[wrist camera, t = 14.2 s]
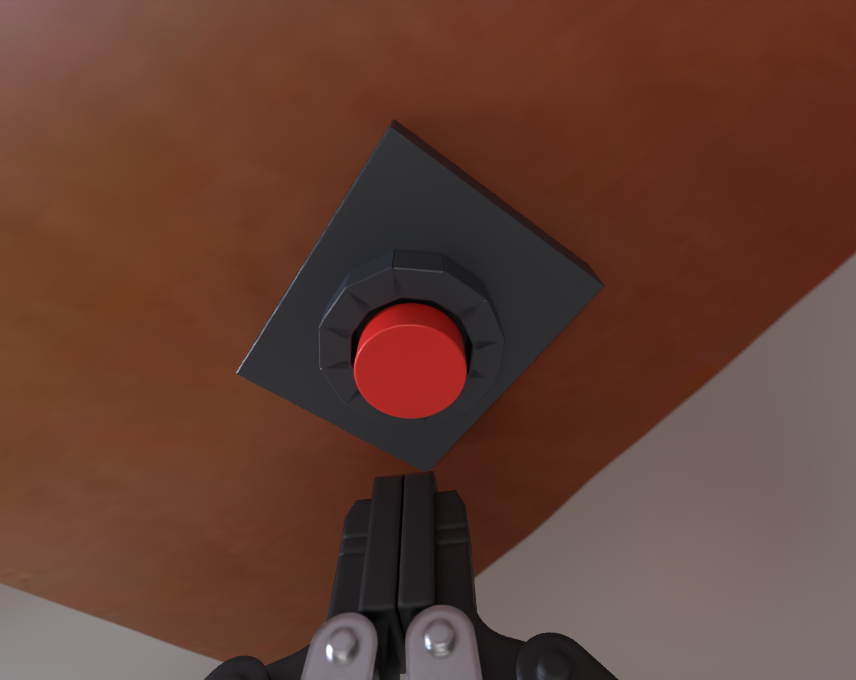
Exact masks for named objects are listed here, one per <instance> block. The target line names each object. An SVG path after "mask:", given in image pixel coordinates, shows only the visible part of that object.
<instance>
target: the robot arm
mask: <svg viewBox="0 0 856 680" xmlns="http://www.w3.org/2000/svg"><path fill="white" fill-rule="evenodd" d="M339 552H340V555H339V556H338V562H337V568H336V573H335V579H334V584H333V590H332V596H331V601H330V607H329V612H328V616H327V620H326V622H325V623H324V624H323V625H322V626H321V627H320V628H319V629H318V630H317V632H316V633H315V635H314V637H313V639H312V641H311V643H310V644H309V645H307V646H306V647H305V648H303V649H302V650H300V651H298V652H296V653H294V654H292V655H290V656H288V657H285V658H283V659H281V660H278V661H276V662H274V663H271V664H269V665H267V666H264V664H263V663H262V662H261V661H260V660H259V659H257V658H255V657H252V656H239V657H235V658H232V659H229V660H227V661H226V662H224V663H222V664H221V665H219V666H218V667H217V668H216V669H214V670H213V671H212V672H211V673H210V674H209V675H208V676H207V677H206V678H205V679H204V680H400V674H405V673H406V678H407V680H618V679H617V678H616V677H615V676H614V675H613V674H612V673H610V672H609V671H608V670H607V669H606V668H605V667H604V666H603V665H602V664H600V663H599V662H598V661H597V660H596V659H595V658H594V657H593V656H592V655H590V654H589V653H588V652H587V651H586V650H585V649H584V648H583V647H582V646H580V645H579V644H578V643H577V642H575V641H574V640H573V639H571V638H569V637H567V636H565V635H562V634H558V633H541V634H538V635H536V636H534V637H532V638H530V639H529V640H528V641H527V642H525V641H521V640H517V639H513V638H509V637H506V636H503V635H501V634H498V633H497V632H494V631H493V630H491V629H490V628H489V627H487V625H486V624H485V623H484V622H483V621H482V620H481V618H480V617H479V615H478V613H477V606H476V595H475V584H474V573H473V562H472V551H471V542H470V535H469V528H468V520H467V513H466V506H465V504H464V503H463V501H462V499H461V498H460V496H459V495H458V493H457V492H456V490H453V491H443V492H438V491H437V485H436V479H435V474H434V471H430V472H420V473H410V474H405V475H404V474H402V475H392V476H382V477H376V478H375V480H374V487H373V495H372V499H365V500H356V502H355V503H354V505H353V506H352V508H351V510H350V511H349V513H348V514H347V516H346V517H345V523H344V528H343V534H342V540H341V545H340V551H339Z"/></svg>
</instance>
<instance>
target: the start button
mask: <svg viewBox="0 0 856 680" xmlns="http://www.w3.org/2000/svg"><path fill="white" fill-rule="evenodd" d="M354 377H355V381H356V384H357V387H358V389H359V391H360V392H361V394H362V395H363V397H364V398H365V399H366V400H367V401H368V402H369V403H370V404H371V405H372V406H374V407H375V408H376V409H378V410H380V411H382V412H384V413H386V414H388V415H391V416H395V417H399V418H411V419H414V418H422V417H427V416H431V415H434V414H436V413H438V412H440V411H442V410H444V409H445V408H447V407H448V406H449V405H451V404H452V403H453V402H454V401H455V400H456V398H457V397H458V396H459V395H460V393H461V391H462V389H463V387H464V385H465V381H466V377H467V365H466V358H465V351H464V344H463V339H462V336H461V333H460V331H459V329H458V327H457V326H456V324H455V323H454V322H453V321H452V320H451V319H450V318H449V317H448V316H447V315H446V314H444V313H443V312H441V311H439V310H438V309H436V308H433V307H431V306H427V305H424V304H418V303H404V304H398V305H394V306H391V307H388V308H386V309H384V310H382V311H380V312H379V313H378V314H376V315H375V316H374V317H373V318H372V319H371V320H370V321H369V322H368V323H367V324H366V326H365V328H364V329H363V331H362V334H361V337H360V340H359V345H358V349H357V354H356V358H355V363H354Z"/></svg>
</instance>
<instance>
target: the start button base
mask: <svg viewBox="0 0 856 680" xmlns="http://www.w3.org/2000/svg"><path fill="white" fill-rule="evenodd" d="M603 287H604V284H603V283H602V281H601V280H600V279H599V278H598V276H597V275H596V274H595V273H594V271H593V270H592V269H591V268H590V266H589V265H588V264H586V263H585V262H584V261H582V260H581V259H580V258H578V257H577V256H576V255H574V254H573V253H572V252H570V251H569V250H568V249H566V248H565V247H564V246H562V245H561V244H560V243H558V242H557V241H556V240H554V239H553V238H552V237H550V236H549V235H548V234H546V233H545V232H544V231H542V230H541V229H540V228H538V227H537V226H536V225H534V224H533V223H532V222H531V221H529V220H528V219H527V218H525V217H524V216H523V215H521V214H520V213H519V212H517V211H516V210H515V209H513V208H512V207H511V206H509V205H508V204H507V203H505V202H504V201H503V200H501V199H500V198H499V197H497V196H496V195H495V194H493V193H492V192H491V191H489V190H488V189H487V188H485V187H484V186H483V185H481V184H480V183H479V182H477V181H476V180H475V179H473V178H472V177H471V176H469V175H468V174H467V173H465V172H464V171H463V170H461V169H460V168H459V167H457V166H456V165H455V164H453V163H452V162H451V161H449V160H448V159H447V158H445V157H444V156H443V155H441V154H440V153H439V152H437V151H436V150H435V149H433V148H432V147H431V146H429V145H428V144H427V143H425V142H424V141H423V140H421V139H420V138H419V137H417V136H416V135H415V134H413V133H412V132H411V131H409V130H408V129H407V128H405V127H404V126H403V125H401V124H400V123H399V122H397V121H396V120H392V122H391V123H390V125H389V127H388V128H387V130H386V131H385V133H384V135H383V136H382V138H381V140H380V141H379V143H378V144H377V146H376V148H375V149H374V151H373V152H372V154H371V156H370V157H369V159H368V160H367V162H366V164H365V165H364V167H363V168H362V170H361V172H360V173H359V175H358V177H357V178H356V180H355V181H354V183H353V185H352V186H351V188H350V189H349V191H348V193H347V194H346V196H345V197H344V199H343V201H342V202H341V204H340V205H339V207H338V209H337V210H336V212H335V213H334V215H333V217H332V218H331V220H330V222H329V223H328V225H327V226H326V228H325V230H324V231H323V233H322V234H321V236H320V238H319V239H318V241H317V242H316V244H315V246H314V247H313V249H312V250H311V252H310V254H309V255H308V257H307V258H306V260H305V262H304V263H303V265H302V267H301V268H300V270H299V271H298V273H297V275H296V276H295V278H294V279H293V281H292V283H291V284H290V286H289V287H288V289H287V291H286V292H285V294H284V295H283V297H282V299H281V300H280V302H279V303H278V305H277V307H276V308H275V310H274V312H273V313H272V315H271V316H270V318H269V320H268V321H267V323H266V324H265V326H264V328H263V329H262V331H261V332H260V334H259V336H258V337H257V339H256V340H255V342H254V344H253V345H252V347H251V349H250V350H249V352H248V354H247V355H246V357H245V359H244V360H243V362H242V364H241V365H240V367H239V369H238V370H237V374H238V375H240V376H242V377H244V378H245V379H247V380H249V381H251V382H253V383H255V384H257V385H259V386H261V387H263V388H265V389H267V390H268V391H270V392H272V393H274V394H276V395H278V396H280V397H282V398H284V399H286V400H288V401H290V402H291V403H293V404H295V405H297V406H299V407H301V408H303V409H305V410H307V411H309V412H311V413H313V414H314V415H316V416H318V417H320V418H322V419H324V420H326V421H328V422H330V423H332V424H334V425H336V426H338V427H339V428H341V429H343V430H345V431H347V432H349V433H351V434H353V435H355V436H357V437H359V438H361V439H362V440H364V441H366V442H368V443H370V444H372V445H374V446H376V447H378V448H380V449H382V450H384V451H385V452H387V453H389V454H391V455H393V456H395V457H397V458H399V459H401V460H403V461H405V462H407V463H408V464H410V465H412V466H414V467H416V468H418V469H420V470H422V471H424V472H429V471H430V470H431V469H432V468H433V466H434V465H435V464H436V463H437V462H438V461H439V460H440V459H441V458H442V457H443V456H444V455H445V454H446V453H447V452H448V451H449V450H450V449H451V447H452V446H453V445H454V444H455V443H456V442H457V441H458V440H459V439H460V438H461V437H462V436H463V435H464V434H465V433H466V432H467V431H468V430H469V428H470V427H471V426H472V425H473V424H474V423H475V422H476V421H477V420H478V419H479V418H480V417H481V416H482V415H483V414H484V413H485V412H486V411H487V409H488V408H489V407H490V406H491V405H492V404H493V403H494V402H495V401H496V400H497V399H498V398H499V397H500V396H501V395H502V394H503V393H504V392H505V390H506V389H507V388H508V387H509V386H510V385H511V384H512V383H513V382H514V381H515V380H516V379H517V378H518V377H519V376H520V375H521V374H522V373H523V371H524V370H525V369H526V368H527V367H528V366H529V365H530V364H531V363H532V362H533V361H534V360H535V359H536V358H537V357H538V356H539V355H540V354H541V352H542V351H543V350H544V349H545V348H546V347H547V346H548V345H549V344H550V343H551V342H552V341H553V340H554V339H555V338H556V337H557V336H558V335H559V333H560V332H561V331H562V330H563V329H564V328H565V327H566V326H567V325H568V324H569V323H570V322H571V321H572V320H573V319H574V318H575V317H576V316H577V314H578V313H579V312H580V311H581V310H582V309H583V308H584V307H585V306H586V305H587V304H588V303H589V302H590V301H591V300H592V299H593V298H594V297H595V295H596V294H597V293H598V292H599V291H600V290H601V289H602V288H603ZM404 303H418V304H424V305H427V306H431V307H433V308H436V309H438V310H439V311H441V312H443V313H444V314H446V315H447V316H448V317H449V318H450V319H451V320H452V321H453V322H454V323H455V324H456V326H457V327H458V329H459V331H460V333H461V336H462V339H463V344H464V351H465V358H466V365H467V377H466V381H465V385H464V387H463V389H462V391H461V393H460V395H459V396H458V397H457V398H456V400H455V401H454V402H453V403H452V404H451V405H449V406H448V407H447V408H445V409H444V410H442V411H440V412H438V413H436V414H434V415H431V416H427V417H422V418H414V419H411V418H399V417H395V416H391V415H388V414H386V413H384V412H382V411H380V410H378V409H376V408H375V407H374V406H372V405H371V404H370V403H369V402H368V401H367V400H366V399H365V398H364V397H363V395H362V394H361V392H360V391H359V389H358V387H357V384H356V381H355V377H354V363H355V358H356V354H357V349H358V345H359V340H360V337H361V334H362V331H363V329H364V328H365V326H366V324H367V323H368V322H369V321H370V320H371V319H372V318H373V317H374V316H375V315H376V314H378V313H379V312H380V311H382V310H384V309H386V308H388V307H391V306H394V305H398V304H404Z"/></svg>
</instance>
